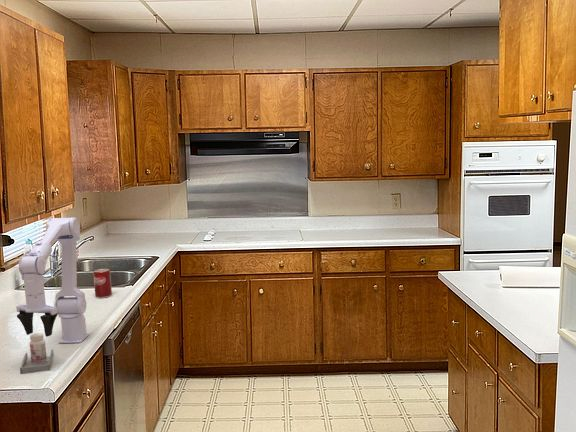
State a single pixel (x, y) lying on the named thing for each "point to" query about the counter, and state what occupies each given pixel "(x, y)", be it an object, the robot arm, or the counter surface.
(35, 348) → the pill bottle
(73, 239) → the robot arm
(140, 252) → the counter surface
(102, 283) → the soda can
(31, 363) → the tray
